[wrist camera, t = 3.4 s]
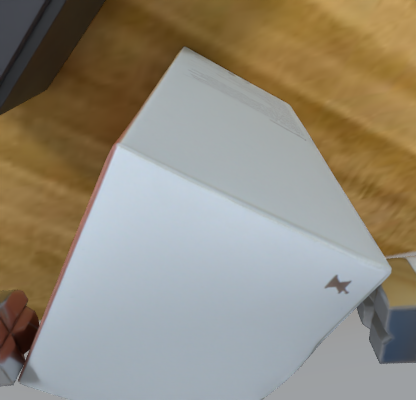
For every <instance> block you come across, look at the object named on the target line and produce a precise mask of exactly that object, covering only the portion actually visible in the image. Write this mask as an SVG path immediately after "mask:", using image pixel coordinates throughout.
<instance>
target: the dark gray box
mask: <svg viewBox="0 0 416 400" xmlns="http://www.w3.org/2000/svg"><path fill="white" fill-rule="evenodd" d="M105 1H106V0H0V115H1V114H3V113H5V112H7V111H9V110H11V109H12V108H14V107H16V106H18V105H20V104H21V103H23V102H25V101H27V100H29V99H31V98H32V97H34V96H36V95H38V94H40V93H42V92H43V91H45V90H47V88H48V87H49V85H50V84H51V82H52V81H53V79H54V78H55V76H56V75H57V73H58V72H59V70H60V69H61V67H62V66H63V64H64V63H65V61H66V60H67V58H68V57H69V55H70V54H71V52H72V50H73V49H74V47H75V46H76V44H77V43H78V41H79V40H80V38H81V37H82V35H83V34H84V32H85V31H86V29H87V28H88V26H89V25H90V23H91V22H92V20H93V19H94V17H95V16H96V14H97V13H98V11H99V10H100V8H101V7H102V5H103V4H104V2H105Z"/></svg>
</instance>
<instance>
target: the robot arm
mask: <svg viewBox="0 0 416 400" xmlns="http://www.w3.org/2000/svg"><path fill="white" fill-rule="evenodd" d="M386 260H387V262H388V263H389V265H390V266H391V268H392V270H391V274H390V275H389V276H388V277H387V279H386V280H385V281H383V282H382V283H381V284H380V285H379V286H378V287H377V288H376V289H375V290H374V291H373V292H372V293H371V294H370V295H369V296H368V297H367V298H366V299H365V300H364V301H363V302H361V303H360V305H359V306H358V307H357V310H358V314H359V317H360V319H361V321H362V324H363V325H365V326H366V327H367V328H369V329H370V336H369V340H370V343H371V345H372V347H373V349H374V352H375V354H376V356H377V359H378V361H379V363H380V364H385V363H386V364H387V363H416V256H408V257H402V258H390V259H386ZM27 302H28V298H27V297H26V295H25V293H24V292H23V291H21V290H3V291H0V386H9V385H14V383H15V381H16V379H17V377H18V375H19V373H20V371H21V369H22V367H23V365H24V363H25V357H24V354H25V353H26V352H27V351H28V350H29V349H30V348H31V345H32V343H33V341H34V339H35V336H36V334H37V331H38V328H39V321H38V317H37V315H36V313H35V311H34V310H32V309H30V308H29V307H27V306H26V305H27Z"/></svg>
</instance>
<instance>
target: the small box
mask: <svg viewBox="0 0 416 400" xmlns="http://www.w3.org/2000/svg"><path fill="white" fill-rule="evenodd" d="M391 270H392V268H391V266H390V265H389V263H388V262H387V260H386V258H385V257H384V255H383V253H382V252H381V250H380V249H379V247H378V245H377V244H376V242H375V241H374V239H373V237H372V236H371V234H370V233H369V231H368V229H367V228H366V226H365V225H364V223H363V221H362V220H361V218H360V217H359V215H358V213H357V212H356V210H355V209H354V207H353V205H352V204H351V202H350V201H349V199H348V197H347V196H346V194H345V193H344V191H343V189H342V188H341V186H340V185H339V183H338V181H337V180H336V178H335V177H334V175H333V173H332V172H331V170H330V168H329V167H328V165H327V163H326V162H325V160H324V158H323V157H322V155H321V154H320V152H319V150H318V149H317V147H316V145H315V144H314V142H313V140H312V139H311V137H310V136H309V134H308V132H307V131H306V129H305V127H304V126H303V124H302V123H301V121H300V120H299V118H298V117H297V115H296V114H295V112H294V110H293V109H292V107H291V106H290V105H289V104H288V103H286V102H284V101H282V100H280V99H278V98H277V97H275V96H273V95H271V94H269V93H267V92H266V91H264V90H262V89H260V88H258V87H257V86H255V85H253V84H251V83H249V82H248V81H246V80H244V79H242V78H240V77H239V76H237V75H235V74H233V73H232V72H230V71H228V70H226V69H224V68H223V67H221V66H219V65H217V64H216V63H214V62H212V61H210V60H209V59H207V58H205V57H203V56H201V55H199V54H198V53H196V52H194V51H192V50H191V49H189V48H187V47H182V48H181V50H180V51H179V53H178V54H177V56H176V57H175V59H174V60H173V62H172V64H171V65H170V66H169V68H168V69H167V71H166V72H165V73H164V75H163V76H162V77H161V79H160V81H159V82H158V83H157V85H156V86H155V88H154V89H153V91H152V92H151V94H150V95H149V97H148V98H147V100H146V101H145V103H144V104H143V106H142V107H141V108H140V110H139V111H138V113H137V114H136V115H135V117H134V118H133V120H132V121H131V122H130V124H129V125H128V126H127V128H126V129H125V131H124V132H123V133H122V134H121V136H120V137H119V138H118V140H117V141H116V142H115V144H114V145H113V147H112V148H111V150H110V152H109V155H108V157H107V159H106V161H105V164H104V166H103V169H102V171H101V173H100V176H99V178H98V181H97V183H96V185H95V188H94V190H93V193H92V195H91V198H90V200H89V203H88V205H87V208H86V210H85V213H84V215H83V218H82V220H81V222H80V225H79V227H78V230H77V232H76V234H75V237H74V239H73V242H72V245H71V247H70V250H69V252H68V255H67V257H66V260H65V262H64V265H63V268H62V270H61V273H60V275H59V278H58V280H57V283H56V285H55V288H54V290H53V292H52V295H51V297H50V300H49V302H48V305H47V307H46V310H45V313H44V315H43V318H42V321H41V323H40V326H39V328H38V331H37V334H36V336H35V339H34V341H33V343H32V345H31V348H30V350H29V353H28V355H27V358H26V361H25V363H24V366H23V369H22V371H21V374H20V377H19V379H18V381H19V382H20V384H22V385H24V386H27V387H31V388H34V389H37V390H40V391H43V392H46V393H49V394H53V395H56V396H59V397H62V398H65V399H69V400H263V399H264V398H265V397H267V396H268V395H269V394H270V393H272V392H273V391H274V390H275V389H276V388H278V387H279V386H280V385H281V384H283V383H284V382H285V381H287V379H289V378H290V377H291V376H292V375H293V374H294V373H295V372H296V371H297V370H298V369H299V368H300V367H301V366H302V365H303V363H304V362H305V361H306V360H307V359H308V358H309V356H310V355H311V354H312V353H313V352H314V351H315V349H316V348H317V347H318V346H319V345H320V344H321V342H322V341H323V340H324V339H325V338H326V337H327V336H328V335H329V334H331V333H332V332H333V331H334V330H335V329H336V328H337V326H339V324H340V323H341V322H342V321H344V320H345V319H346V318H347V317H348V316H349V315H350V314H351V313H352V312H353V311H354V310H355V309H356V308H357V307H358V306H359V305H360V303H361V302H363V301H364V300H365V299H366V298H367V297H368V296H369V295H370V294H371V293H372V292H373V291H374V290H375V289H376V288H377V287H378V286H379V285H380V284H381V283H382V282H383V281H385V280H386V279H387V277H388V276H389V275H390V274H391Z"/></svg>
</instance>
